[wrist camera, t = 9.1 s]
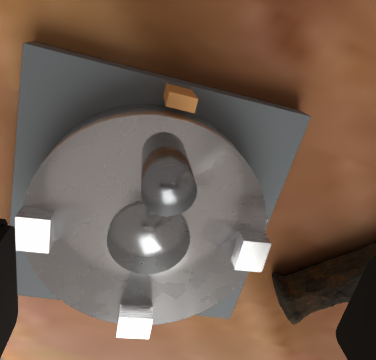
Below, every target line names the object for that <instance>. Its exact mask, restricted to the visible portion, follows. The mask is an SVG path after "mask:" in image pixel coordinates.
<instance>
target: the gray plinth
mask: <svg viewBox="0 0 376 360" xmlns="http://www.w3.org/2000/svg"><path fill="white" fill-rule="evenodd" d="M131 105H160V106H166V107H170V108H174V109H178V110H182V111H186V112H189V113H191V114H194V115H196V116H198V117H200V118H202V119H204V120H205V121H207V122H209V123H211V124H212V125H213V126H215V127H216V128H217V129H219V130H220V131H221V132H222V133H223V134H224V135H225V136H226V137H227V138H228V139H229V140H230V141H231V142H232V143H233V145H234V146H235V147H236V149H237V150H238V151H239V152H240V154H241V155H242V157H243V158H244V159H245V161H246V162H247V163H248V165H249V166H250V167H251V169H252V170H253V172H254V174H255V176H256V178H257V179H258V181H259V184H260V187H261V189H262V192H263V195H264V200H265V205H266V219H267V223H266V227H267V225H268V222H269V220H270V217H271V215H272V212H273V210H274V207H275V205H276V202H277V200H278V197H279V195H280V193H281V190H282V188H283V185H284V183H285V180H286V178H287V175H288V173H289V170H290V168H291V165H292V163H293V160H294V158H295V155H296V153H297V150H298V148H299V145H300V143H301V140H302V138H303V135H304V133H305V130H306V128H307V125H308V123H309V120H310V118H311V116H309V115H307V114H305V113H304V112H302V111H300V110H297V109H293V108H289V107H286V106H282V105H278V104H274V103H270V102H266V101H262V100H258V99H255V98H251V97H247V96H243V95H239V94H235V93H231V92H227V91H224V90H220V89H216V88H212V87H208V86H204V85H200V84H196V83H192V82H189V81H185V80H181V79H177V78H173V77H169V76H165V75H161V74H158V73H154V72H150V71H146V70H142V69H138V68H134V67H130V66H127V65H123V64H119V63H115V62H111V61H107V60H103V59H99V58H95V57H92V56H88V55H84V54H80V53H76V52H72V51H68V50H64V49H61V48H57V47H53V46H49V45H45V44H41V43H37V42H27V43H23V51H22V64H21V78H20V91H19V105H18V119H17V132H16V146H15V159H14V173H13V186H12V200H11V213H10V226H13V227H14V228H15V216H16V215H17V213H18V212H19V210H20V209H21V207H22V205H23V201H24V197H25V193H26V191H27V189H28V186H29V184H30V182H31V180H32V178H33V176H34V175H35V173H36V172H37V170H38V169H39V167H40V165H41V164H42V163H43V161H44V160H45V159H46V157H47V156H48V155H49V153H50V152H51V151H52V149H53V148H54V147H55V146H56V145H57V144H58V142H59V141H60V140H61V139H62V138H63V137H64V136H65V135H66V134H67V133H68V132H70V131H71V130H72V129H73V128H74V127H76V126H77V125H79V124H80V123H82V122H84V121H85V120H87V119H88V118H91V117H93V116H95V115H97V114H100V113H102V112H105V111H108V110H111V109H115V108H118V107H124V106H131ZM16 268H17V295H22V296H31V297H40V298H48V299H57V300H61V299H59V298H58V297H57V296H55V295H54V294H53V293H52V292H51V291H50V290H49V289H48V288H47V287H46V286H45V285H44V283H43V282H42V281H41V280H40V278H39V277H38V276H37V274H36V273H35V271H34V269H33V268H32V266H31V264H30V262H29V260H28V257H27V255H26V252H25V251H16ZM246 277H247V276H246ZM246 277H245V279H244V280H243V281H242V282H241V283H240V284H239V285H238V286H237V288H236V289H235V290H234V291H232V292H231V293H230V294H229V295H228V296H226V297H225V298H224V299H223V300H221V301H220V302H218V303H217V304H215V305H214V306H212V307H210V308H208V309H206V310H204V311H203V312H201V313H198V314H196V315H199V316H208V317H217V318H226V319H230V317H231V314H232V312H233V309H234V307H235V304H236V302H237V299H238V297H239V294H240V292H241V290H242V287H243V285H244V282H245V280H246Z"/></svg>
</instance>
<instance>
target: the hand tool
mask: <svg viewBox="0 0 376 360" xmlns="http://www.w3.org/2000/svg"><path fill="white" fill-rule="evenodd" d="M375 256H376V243H375V244H370V245H368V246H366V247H364V248H362V249H360V250H357V251H355V252H352V253H349V254H346V255H343V256H340V257H335V258H333V259H330V260H327V261H323V262H321V263H319V264H317V265H315V266H311V267H308V268H306V269H303V270H301V271H298V272H296V273H293V274H290V275H286V276H280V275H278V274H276V273H273V274H272V278H273V282H274V287H275V291H276V295H277V298H278V301H279V304H280V306H281V307H282V309H283V311H284V313H285V315H286V317H287V318H288V320H289V321H290V322H291V323H292V324H297V323H298V322H300V321H301V320H302V319H303V318H304V317H306V316H308V315H309V314H310V313H313V312H316V311H318V310H321V309H325V308H327V307H331V306H334V305H335V304H339V303H343V302H349V301H350V299H351V297H352V295H353V293H354V291H355V289H356V287H357V284H358V282H359V280H360V278H361V276H362V274H363V272H364V270H365V268H366V265H367V263H368V262H369V261H370V260H371V259H373V258H374V257H375Z"/></svg>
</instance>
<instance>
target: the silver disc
mask: <svg viewBox="0 0 376 360" xmlns="http://www.w3.org/2000/svg"><path fill="white" fill-rule="evenodd" d="M266 223H267V219H266V205H265V200H264V195H263V192H262V189H261V187H260V184H259V181H258V179H257V178H256V176H255V174H254V172H253V170H252V169H251V167H250V166H249V165H248V163H247V162H246V161H245V159H244V158H243V157H242V155H241V154H240V152H239V151H238V150H237V149H236V147H235V146H234V145H233V143H232V142H231V141H230V140H229V139H228V138H227V137H226V136H225V135H224V134H223V133H222V132H221V131H220V130H219V129H217V128H216V127H215V126H213V125H212V124H211V123H209V122H207V121H205V120H204V119H202V118H200V117H198V116H196V115H194V114H191V113H189V112H186V111H182V110H178V109H174V108H170V107H166V106H160V105H131V106H124V107H118V108H115V109H111V110H108V111H105V112H102V113H100V114H97V115H95V116H93V117H91V118H88V119H87V120H85V121H84V122H82V123H80V124H79V125H77V126H76V127H74V128H73V129H72V130H71V131H70V132H68V133H67V134H66V135H65V136H64V137H63V138H62V139H61V140H60V141H59V142H58V144H57V145H56V146H55V147H54V148H53V149H52V151H51V152H50V153H49V155H48V156H47V157H46V159H45V160H44V161H43V163H42V164H41V165H40V167H39V169H38V170H37V172H36V173H35V175H34V176H33V178H32V180H31V182H30V184H29V186H28V189H27V191H26V193H25V197H24V201H23V205H22V207H21V209H20V210H19V212H18V213H17V215H16V216H15V241H16V251H25V252H26V255H27V257H28V260H29V262H30V264H31V266H32V268H33V269H34V271H35V273H36V274H37V276H38V277H39V278H40V280H41V281H42V282H43V283H44V285H45V286H46V287H47V288H48V289H49V290H50V291H51V292H52V293H53V294H54V295H55V296H57V297H58V298H59V299H61V300H62V301H63V302H65V303H66V304H67V305H69V306H71V307H73V308H74V309H76V310H78V311H80V312H82V313H84V314H87V315H89V316H91V317H94V318H97V319H100V320H104V321H107V322H112V323H117V333H116V338H135V339H149V336H150V332H151V327H152V325H157V324H164V323H170V322H175V321H178V320H182V319H185V318H188V317H191V316H193V315H196V314H198V313H201V312H203V311H204V310H206V309H208V308H210V307H212V306H214V305H215V304H217V303H218V302H220V301H221V300H223V299H224V298H225V297H226V296H228V295H229V294H230V293H231V292H232V291H234V290H235V289H236V288H237V286H238V285H239V284H240V283H241V282H242V281H243V280H244V279H245V277H246V276H247V275H248V273H249V272H250V271H253V272H262V270H263V267H264V264H265V261H266V258H267V255H268V252H269V249H270V246H271V242H270V240H269V239H268V237H267V235H266V233H265V232H266Z"/></svg>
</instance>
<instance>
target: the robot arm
mask: <svg viewBox="0 0 376 360" xmlns="http://www.w3.org/2000/svg"><path fill="white" fill-rule="evenodd" d="M17 316H18V296H17V268H16V241H15V228H14V227H13V226H8V224H7V221H6V220H5V219H0V358H1V355H2V353H3V351H4V349H5V347H6V344H7V342H8V340H9V338H10V335H11V333H12V331H13V329H14V327H15V324H16V320H17ZM336 338H337V341H338V343H339V345H340V347H341V349H342V350H343V352H344V354H345V356H346V357H347V359H348V360H376V256H375V257H374V258H373V259H371V260H370V261H369V262H368V263H367V265H366V268H365V270H364V272H363V274H362V276H361V278H360V280H359V282H358V284H357V287H356V289H355V291H354V293H353V295H352V297H351V299H350V301H349V303H348V306H347V308H346V310H345V312H344V314H343V316H342V318H341V320H340V322H339V324H338V327H337V329H336Z"/></svg>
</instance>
